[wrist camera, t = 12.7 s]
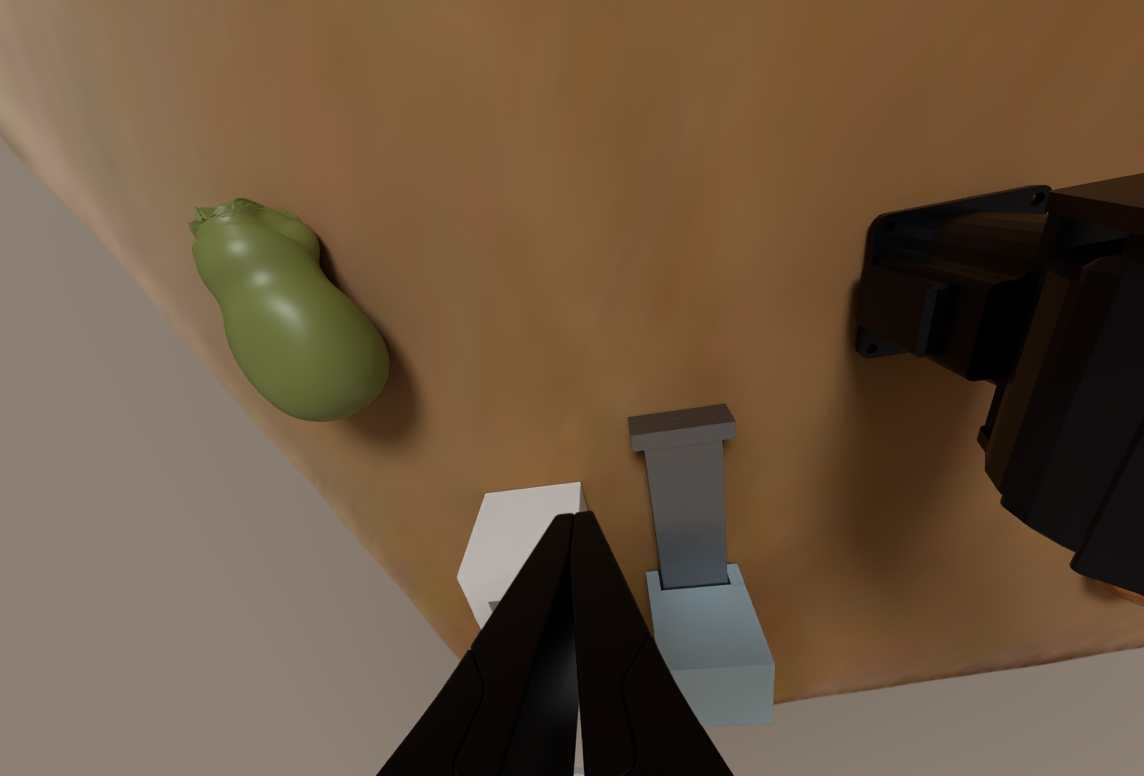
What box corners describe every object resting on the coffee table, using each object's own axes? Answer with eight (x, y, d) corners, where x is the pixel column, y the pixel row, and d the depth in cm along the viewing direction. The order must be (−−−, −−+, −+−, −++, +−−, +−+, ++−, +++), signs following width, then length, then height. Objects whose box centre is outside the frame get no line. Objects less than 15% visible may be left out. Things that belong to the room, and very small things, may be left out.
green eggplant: (269, 458, 18) (109, 238, 15) (348, 412, 23) (236, 241, 20) (368, 411, 16) (209, 161, 14) (429, 374, 21) (319, 185, 19)
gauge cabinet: (580, 481, 25) (576, 565, 19) (601, 572, 28) (603, 664, 23) (479, 494, 25) (449, 578, 20) (512, 580, 29) (494, 671, 23)
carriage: (736, 563, 27) (774, 664, 21) (738, 620, 30) (772, 723, 24) (645, 571, 28) (659, 671, 22) (654, 626, 30) (669, 728, 25)
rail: (725, 403, 22) (735, 421, 20) (732, 634, 30) (740, 659, 29) (627, 417, 22) (630, 435, 21) (662, 639, 31) (666, 663, 30)
